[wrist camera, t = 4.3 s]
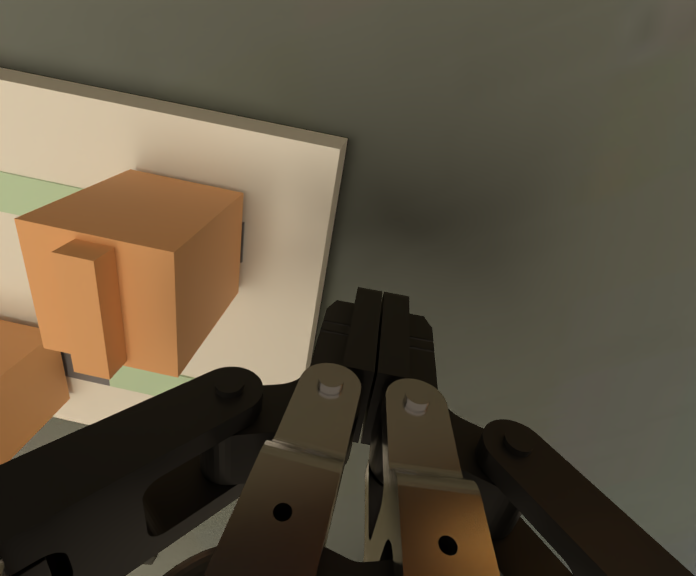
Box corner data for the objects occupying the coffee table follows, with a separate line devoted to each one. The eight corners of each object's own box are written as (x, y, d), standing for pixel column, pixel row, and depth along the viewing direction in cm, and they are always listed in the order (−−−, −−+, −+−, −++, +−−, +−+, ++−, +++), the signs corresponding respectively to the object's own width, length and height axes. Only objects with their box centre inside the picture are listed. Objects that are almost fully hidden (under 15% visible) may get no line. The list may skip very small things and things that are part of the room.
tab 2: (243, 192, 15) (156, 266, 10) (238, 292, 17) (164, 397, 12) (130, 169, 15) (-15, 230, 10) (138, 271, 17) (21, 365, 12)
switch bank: (347, 138, 16) (339, 149, 14) (298, 438, 24) (289, 471, 22) (-73, 52, 16) (-136, 52, 14) (17, 376, 24) (-16, 403, 22)
